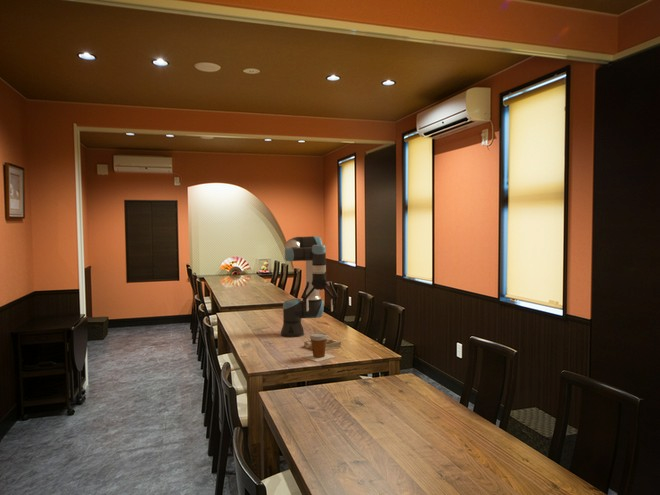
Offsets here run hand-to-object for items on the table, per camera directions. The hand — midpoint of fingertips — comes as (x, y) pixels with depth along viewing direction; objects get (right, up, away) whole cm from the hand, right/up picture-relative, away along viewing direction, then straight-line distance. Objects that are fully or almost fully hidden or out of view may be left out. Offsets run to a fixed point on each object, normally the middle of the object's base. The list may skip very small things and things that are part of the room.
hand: (319, 311), depth 259 cm
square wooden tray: (+1, -24, +19) cm, 30 cm away
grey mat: (0, -25, -2) cm, 25 cm away
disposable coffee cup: (0, -25, -2) cm, 25 cm away
